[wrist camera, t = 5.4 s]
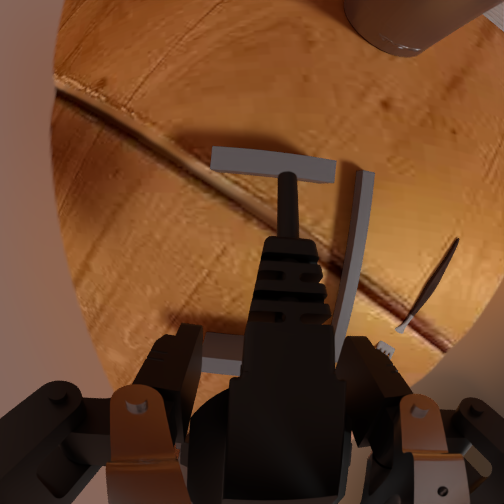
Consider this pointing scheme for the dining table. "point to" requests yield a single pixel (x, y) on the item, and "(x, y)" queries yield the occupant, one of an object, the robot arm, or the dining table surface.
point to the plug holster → (323, 171)
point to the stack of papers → (496, 15)
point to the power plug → (277, 389)
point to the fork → (421, 298)
